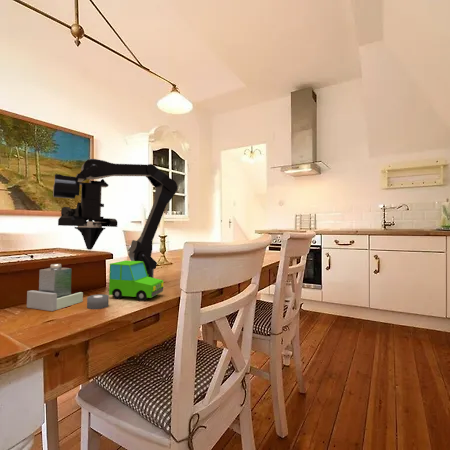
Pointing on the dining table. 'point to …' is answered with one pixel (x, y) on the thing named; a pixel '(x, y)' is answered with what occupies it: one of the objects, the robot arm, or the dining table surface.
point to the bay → (51, 300)
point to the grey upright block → (55, 280)
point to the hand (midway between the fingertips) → (89, 249)
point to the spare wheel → (97, 301)
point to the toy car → (132, 281)
